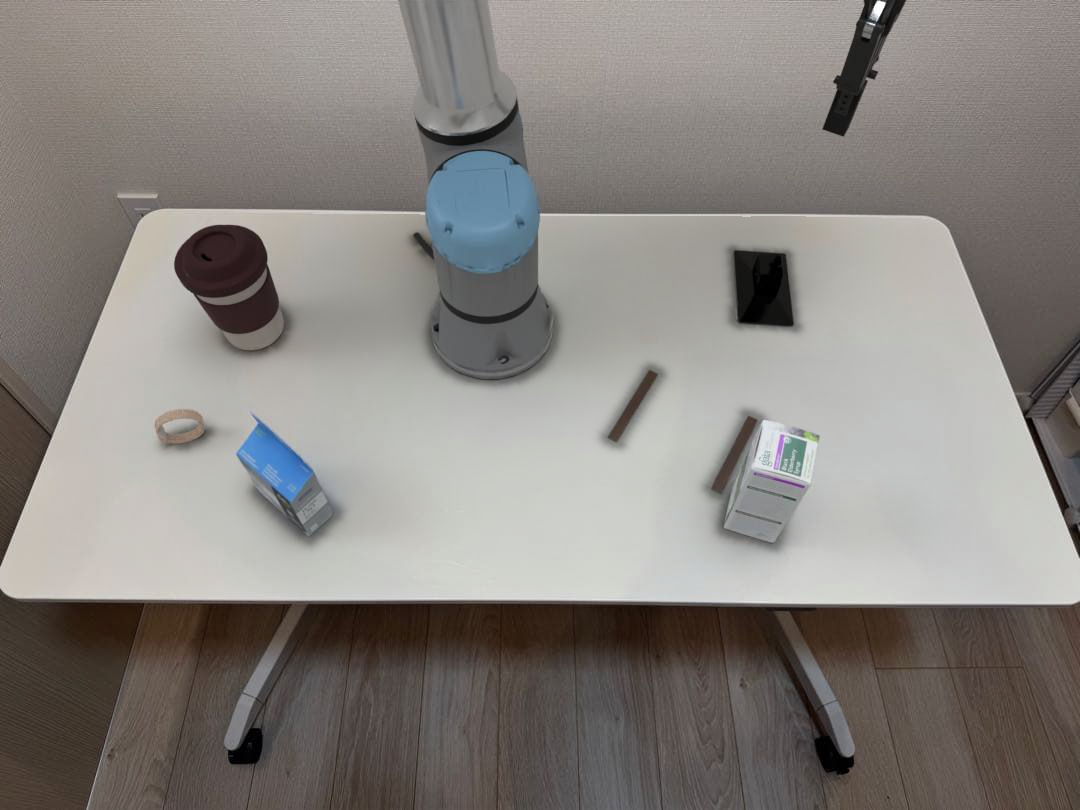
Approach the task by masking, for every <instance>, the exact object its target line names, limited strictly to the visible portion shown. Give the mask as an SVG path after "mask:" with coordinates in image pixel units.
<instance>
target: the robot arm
mask: <svg viewBox="0 0 1080 810" xmlns="http://www.w3.org/2000/svg"><path fill="white" fill-rule="evenodd" d="M397 2H398V6H399V10H400V13H401V17H402V21H403V25H404V28H405V32H406V36H407V39H408V44H409V47H410V51H411V54H412V55H411V56H412V59H413V63H414V67H415V70H416V74H417V79H418V81H419V87H418V88H417V90H416V91H415V94H414V96H413V98H412V102H411V103H412V104H411V105H412V106H411V107H412V112H413V116H414V120H415V124H416V127H417V130H418V135H419V138H420V141H421V146H422V148H423V153H424V156H425V162H426V171H427V189H426V195H425V196H426V198H425V205H424V214H425V215H424V217H425V224H426V228H427V231H428V233H429V235H430V242H431V246H430V244H429V243H428V242H427V241H426V239H424V238H423V236H422V235H421V234H420V232H419V231H416V232H414V233H413V238H414V239H415V240H416V242H417V243H418V244H419V245H420V247H421V248H422V249H423V250H424V251H425V253H426V254H427V255H428V256H429V257H430V258H431V260H433V262H434V267H435V272H436V278H437V284H438V290H439V291H438V293H437V297H436V300H435V303H434V306H433V310H432V313H431V317H430V333H431V338H432V343H433V346H434V348H435V350H436V352H437V354H438V356H439V357H440V359H441V360H443V362H444V363H445V364H447V366H448V367H450V368H451V369H452V370H455V371H456V372H458V373H460V374H462V375H465V376H468V377H471V378H475V379H481V380H501V379H505V378H509V377H513V376H517V375H519V374H522V373H524V372H525V371H527V370H529V369H530V368H532V367H533V366H534V365H536V364H537V363H538V362H539V361H540V360H541V359H542V358H543V357H544V355H545V354H546V352H547V351H548V350H549V349H548V348H549V347H550V345H551V342H552V337H553V328H554V327H553V326H554V324H553V322H554V316H555V312H553V313H552V310H551V307H550V304H549V302H548V300H547V298H546V297H545V295H544V293H543V292H542V290H541V287H540V285H539V231H540V228H539V227H540V223H541V206H540V201H539V196H538V193H537V189H536V185H535V183H534V181H533V179H532V177H531V176H530V172H529V167H528V159H527V155H526V148H525V141H524V126H523V120H522V116H521V113H520V107H519V106H520V105H519V100H518V93H517V90H516V86H515V82H514V81H513V80H512V78H511V77H510V76H509V75H508V74H506V73H505V72H503V71H502V70H500V67H499V60H498V54H497V49H496V42H495V37H494V30H493V25H492V17H491V12H490V4H489V0H397ZM906 2H907V0H863V8H862V10H861V12H860V15H859V19H858V20H857V21H856V23H855V30H854V34H853V38H852V40H851V44H850V46H849V49H848V52H847V56H846V58H845V61H844V64H843V66H842V70H841V73H840V75H838V74H836V76H835V78H834V79H833V81H832V83H833V84H835V85H836V88H835V89H836V91H835V94H834V97H833V99H832V102H831V105H830V107H829V110H828V112H827V116H826V118H825V120H824V123H823V125H822V131H826V132H829V133H831V134H835V135H836V136H840V137H842V138H844V137H845V135H846V134H847V132H848V130H849V128H850V125H851V123H852V121H853V119H854V116H855V114H856V111H857V109H858V106H859V104H860V102H861V99H862V97H863V94H864V91H865V89H866V87H867V85H868V83H869V80H867V78H868V79H870V80H874V81H875V79H876V78H877V76H878V74H879V71H877V70H875V69H873V68H874V66H875V65H876V63H877V62H878V61H879V59H880V54H881V52H882V50H883V48H884V45H885V42H886V40H887V38H888V36H889V34H890V33H891V31H892V29H893V27H894V25H895V23H896V22H897V20H898V19H899V17H900V15H901V13H902V10H903V8H904V6H905V5H906Z"/></svg>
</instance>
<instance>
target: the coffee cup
mask: <svg viewBox="0 0 1080 810" xmlns="http://www.w3.org/2000/svg"><path fill="white" fill-rule="evenodd" d="M268 260H269V259H268V251H267V249H266V246H265V244H264V242H263V239H262V238H261V236H259V234H258V233H256V232H255V231H254V230H252V229H250V228H249V227H246V226H242V225H238V224H213V225H209V226H208V225H207V226H205V227H203V228H200V229H199V230H197V231H196V232H194V233H193V234H192V235H190V237H189V238H187V239H186V240H185V241H184V242H183V243H182V244H181V246H180V247H179V248H178V250H177V252H176V254H175V256H174V260H173V261H174V262H173V268H174V272H175V275H176V276H177V278H178V280H179V282H180V283H181V285H182V286H183V287H184V288H185V289H186V290H187V291H188V292H190V293H192V294H193V296H194V298H195V299H196V301H197V302H198V303H199V304H200V306H201V308H202V309H203V310H204V312H205V313H206V314H207V316H208V318H210V320H211V321H212V323H213V324H214V325H215V326H216V327H217V328H218V329H219V330H220V331H221V333H222V334H223V335H224V337H225V338H226V340H227V341H228V343H230V344H231V345H232V346H233V347H235V348H237V349H239V350H244V351H257V350H261V349H264V348H267V347H269V346H270V345H272V344H273V343H275V342H276V341H277V340H278V339H279V338H280V336H281V335H282V333H283V330H284V327H285V320H284V319H285V318H284V316H283V311H282V309H281V307H280V298H279V294H278V292H277V289H276V285H275V283H274V279H273V276H272V273H271V270H270V267H269V265H268Z"/></svg>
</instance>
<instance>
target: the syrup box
mask: <svg viewBox="0 0 1080 810" xmlns="http://www.w3.org/2000/svg"><path fill="white" fill-rule="evenodd" d="M820 438H821V435H820V434H818V433H814V432H812V431H808V430H804V429H802V428H799V427H796V426H791V425H788V424H784V423H780V422H776V421H771V420H767V419H763V420H762V422H761V424H760V426H759V428H758V430H757V432H756V434H755V436H754V438H753V440H752V443H751V445H750V447H749V449H748V451H747V454H746V456H745V458H744V461H743V462H742V465H741V467H740V469H739V471H738V473H737V476H736V478H735V480H734V482H733V484H732V486H731V487H732V488H731V491H730V496H729V500H728V505H727V510H726V513H725V519H724V521H723V526H722V527H723V529H726V530H728V531H732V532H734V533H737V534H741V535H745V536H747V537H751V538H753V539H757V540H761V541H764V542H768V543H771V544H773V543H775V542H776V540H777V538H778V537H779V536H780V534H781V533H782V531H783V529H784V528H785V526H786V525H787V524H788V522H789V520H790V519H791V517H792V515H793V514H794V512H795V511H796V510H797V507H798V506H799V504H800V503H801V502H802V500H803V498H804V496H805V495H806V494H807V492H808V490H809V489H810V487H811V486H812V482H813V477H814V470H815V465H816V461H817V460H816V459H817V454H818V448H819V443H820Z"/></svg>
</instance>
